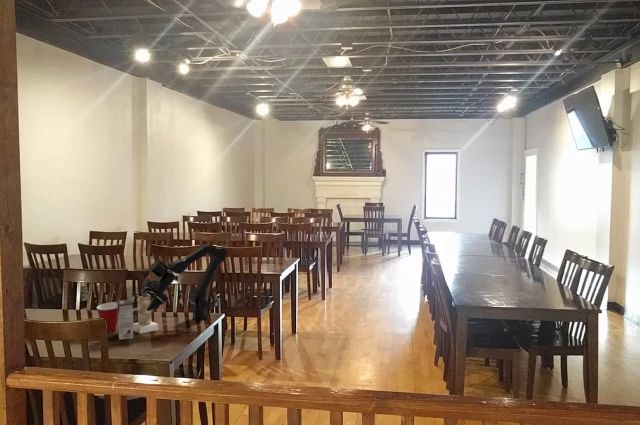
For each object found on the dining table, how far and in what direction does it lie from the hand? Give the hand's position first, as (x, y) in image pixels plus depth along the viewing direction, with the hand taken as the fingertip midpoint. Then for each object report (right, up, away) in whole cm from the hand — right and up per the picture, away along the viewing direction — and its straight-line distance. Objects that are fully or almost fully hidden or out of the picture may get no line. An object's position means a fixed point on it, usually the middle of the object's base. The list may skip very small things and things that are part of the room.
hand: (143, 309), depth 253 cm
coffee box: (-5, -11, -9) cm, 15 cm away
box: (-7, -10, +13) cm, 18 cm away
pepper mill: (+1, -7, +1) cm, 7 cm away
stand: (+1, -10, +1) cm, 10 cm away
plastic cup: (-17, -11, +2) cm, 20 cm away
